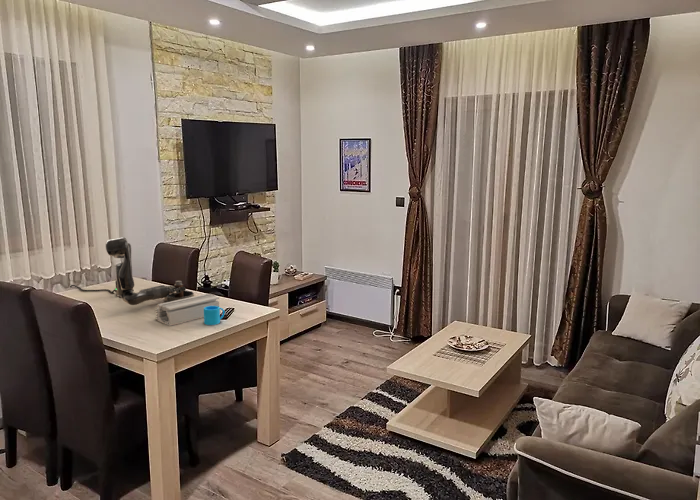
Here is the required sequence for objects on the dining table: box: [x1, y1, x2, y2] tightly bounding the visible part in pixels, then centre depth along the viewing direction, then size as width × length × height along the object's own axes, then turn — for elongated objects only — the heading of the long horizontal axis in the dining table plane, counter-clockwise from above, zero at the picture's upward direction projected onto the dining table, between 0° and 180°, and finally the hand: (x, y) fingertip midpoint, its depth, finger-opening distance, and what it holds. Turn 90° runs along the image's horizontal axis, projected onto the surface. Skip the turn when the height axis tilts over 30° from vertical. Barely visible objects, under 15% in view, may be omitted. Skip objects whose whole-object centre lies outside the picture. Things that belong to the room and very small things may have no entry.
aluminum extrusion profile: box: [154, 293, 220, 327], centre depth 276 cm, size 14×31×10 cm, turn 140°
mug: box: [203, 305, 226, 326], centre depth 268 cm, size 12×8×8 cm
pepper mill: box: [173, 280, 184, 298], centre depth 308 cm, size 5×5×11 cm
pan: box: [163, 290, 195, 303], centre depth 309 cm, size 17×17×4 cm
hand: (182, 287), depth 310 cm, fingers closed on pepper mill, 5 cm apart
